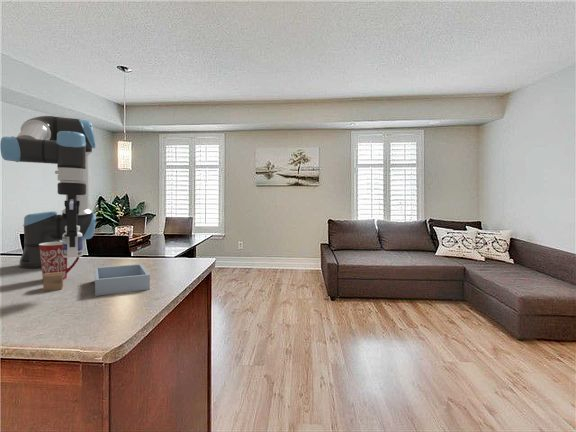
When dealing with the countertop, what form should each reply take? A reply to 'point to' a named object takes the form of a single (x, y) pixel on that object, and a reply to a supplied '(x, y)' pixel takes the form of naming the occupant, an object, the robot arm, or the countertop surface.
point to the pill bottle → (80, 243)
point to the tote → (121, 279)
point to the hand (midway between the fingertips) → (73, 255)
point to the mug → (54, 258)
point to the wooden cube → (53, 281)
